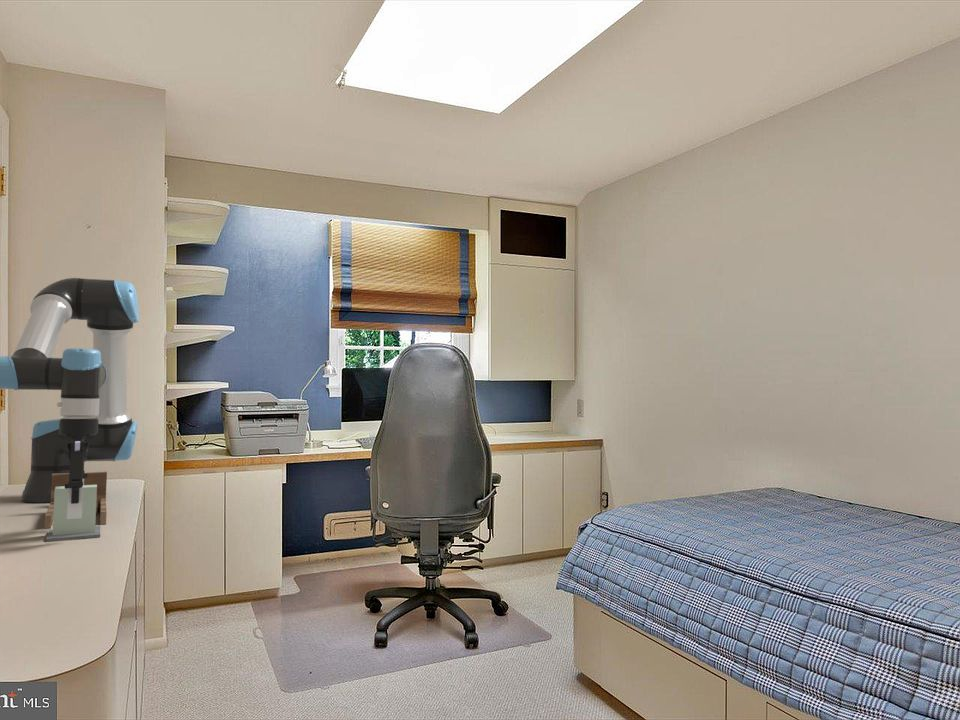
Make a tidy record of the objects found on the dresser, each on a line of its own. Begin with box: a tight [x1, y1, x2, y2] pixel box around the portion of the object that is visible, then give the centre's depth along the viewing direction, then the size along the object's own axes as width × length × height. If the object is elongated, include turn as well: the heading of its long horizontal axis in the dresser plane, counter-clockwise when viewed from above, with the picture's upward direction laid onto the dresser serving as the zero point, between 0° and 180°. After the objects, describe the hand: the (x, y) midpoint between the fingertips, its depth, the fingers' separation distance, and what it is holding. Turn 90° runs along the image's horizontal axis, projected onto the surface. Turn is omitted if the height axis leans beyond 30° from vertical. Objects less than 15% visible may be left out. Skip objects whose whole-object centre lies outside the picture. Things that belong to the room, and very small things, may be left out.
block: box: [52, 485, 97, 535], centre depth 149 cm, size 4×8×10 cm, turn 120°
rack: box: [44, 471, 108, 530], centre depth 167 cm, size 22×12×10 cm, turn 30°
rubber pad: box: [45, 525, 101, 542], centre depth 148 cm, size 10×10×1 cm
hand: (75, 513), depth 149 cm, fingers open, 13 cm apart
